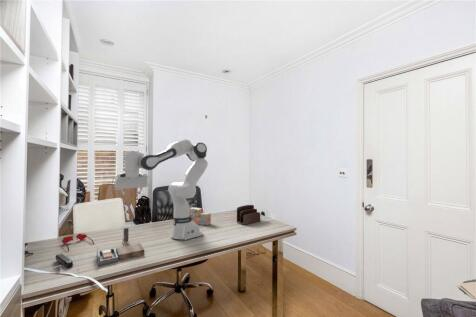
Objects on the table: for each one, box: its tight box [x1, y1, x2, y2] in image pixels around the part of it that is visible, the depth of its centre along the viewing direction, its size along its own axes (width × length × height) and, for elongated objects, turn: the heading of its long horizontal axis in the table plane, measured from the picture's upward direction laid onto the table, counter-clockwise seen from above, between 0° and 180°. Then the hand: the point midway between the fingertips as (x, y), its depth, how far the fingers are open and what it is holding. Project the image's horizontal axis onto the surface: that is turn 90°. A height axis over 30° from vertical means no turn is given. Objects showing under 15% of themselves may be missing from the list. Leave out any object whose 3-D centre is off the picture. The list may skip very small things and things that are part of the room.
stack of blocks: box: [189, 206, 212, 226], centre depth 196 cm, size 21×6×12 cm, turn 58°
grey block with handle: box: [122, 226, 130, 246], centre depth 144 cm, size 2×14×11 cm, turn 35°
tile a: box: [101, 249, 111, 257], centre depth 126 cm, size 4×4×2 cm
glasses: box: [61, 232, 95, 252], centre depth 145 cm, size 14×16×5 cm
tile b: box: [103, 253, 113, 260], centre depth 121 cm, size 4×4×2 cm
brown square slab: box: [115, 242, 145, 261], centre depth 130 cm, size 13×12×3 cm
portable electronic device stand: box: [55, 253, 74, 269], centre depth 118 cm, size 18×3×3 cm, turn 54°
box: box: [96, 246, 119, 267], centre depth 123 cm, size 9×15×5 cm, turn 35°
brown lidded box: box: [236, 204, 261, 225], centre depth 200 cm, size 10×20×14 cm, turn 127°
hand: (131, 194), depth 152 cm, fingers open, 8 cm apart
